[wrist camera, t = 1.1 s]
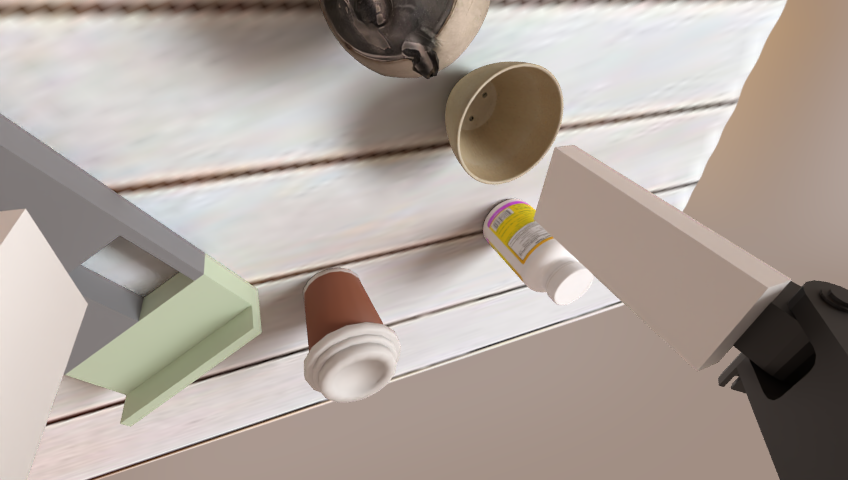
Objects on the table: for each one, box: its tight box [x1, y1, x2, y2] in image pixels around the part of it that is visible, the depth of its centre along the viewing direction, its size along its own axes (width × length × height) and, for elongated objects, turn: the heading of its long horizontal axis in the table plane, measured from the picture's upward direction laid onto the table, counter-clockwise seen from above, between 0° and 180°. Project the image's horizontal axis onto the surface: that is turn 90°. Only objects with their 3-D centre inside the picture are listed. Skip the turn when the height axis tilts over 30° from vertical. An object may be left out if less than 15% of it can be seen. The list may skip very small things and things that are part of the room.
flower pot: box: [445, 62, 563, 184], centre depth 34 cm, size 10×10×7 cm
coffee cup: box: [303, 267, 401, 402], centre depth 39 cm, size 9×9×12 cm
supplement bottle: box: [483, 199, 593, 305], centre depth 43 cm, size 7×7×13 cm
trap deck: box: [0, 114, 262, 426], centre depth 27 cm, size 32×15×6 cm, turn 29°
